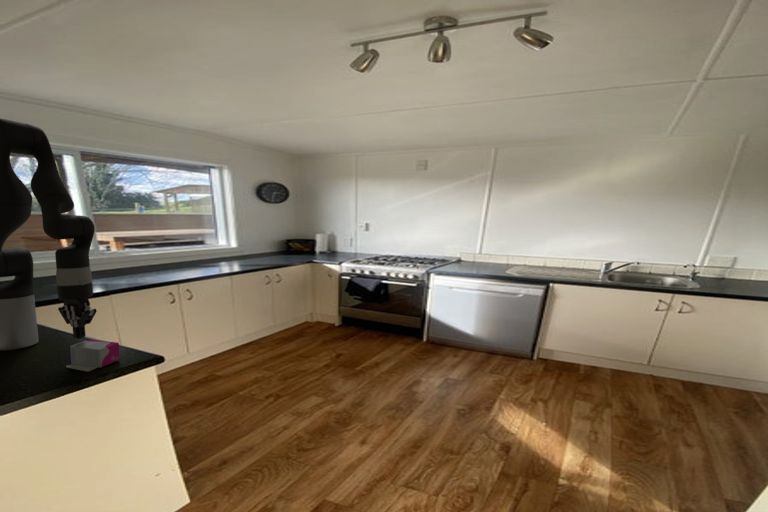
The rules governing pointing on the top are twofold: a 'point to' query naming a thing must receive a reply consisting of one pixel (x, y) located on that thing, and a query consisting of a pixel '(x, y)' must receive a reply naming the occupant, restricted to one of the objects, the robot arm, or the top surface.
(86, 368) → the mat
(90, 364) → the supplement box
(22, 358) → the top surface
